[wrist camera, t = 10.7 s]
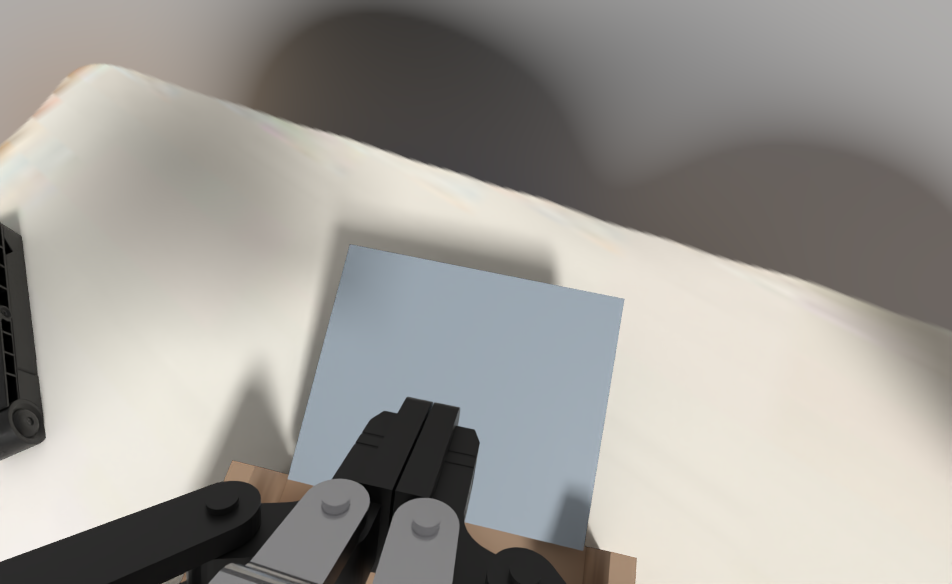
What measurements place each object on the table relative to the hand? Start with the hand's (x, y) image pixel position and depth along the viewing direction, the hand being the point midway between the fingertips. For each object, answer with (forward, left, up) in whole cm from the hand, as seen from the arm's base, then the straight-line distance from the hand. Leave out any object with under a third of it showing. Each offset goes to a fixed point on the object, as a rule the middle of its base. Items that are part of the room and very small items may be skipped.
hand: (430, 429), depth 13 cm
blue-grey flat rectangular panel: (+2, +1, -16) cm, 17 cm away
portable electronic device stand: (+16, -28, -19) cm, 37 cm away
